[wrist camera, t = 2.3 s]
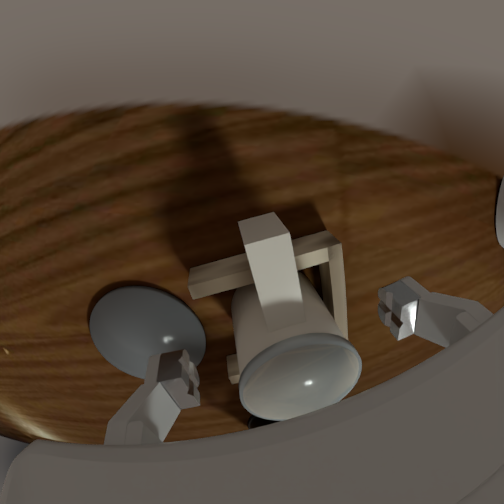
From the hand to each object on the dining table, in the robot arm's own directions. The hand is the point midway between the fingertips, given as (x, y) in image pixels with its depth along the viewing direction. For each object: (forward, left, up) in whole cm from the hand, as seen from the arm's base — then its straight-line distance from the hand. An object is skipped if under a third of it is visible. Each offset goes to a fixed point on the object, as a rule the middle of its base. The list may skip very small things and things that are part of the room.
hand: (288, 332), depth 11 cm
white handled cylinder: (-1, +5, -13) cm, 14 cm away
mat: (+12, +8, -13) cm, 20 cm away
